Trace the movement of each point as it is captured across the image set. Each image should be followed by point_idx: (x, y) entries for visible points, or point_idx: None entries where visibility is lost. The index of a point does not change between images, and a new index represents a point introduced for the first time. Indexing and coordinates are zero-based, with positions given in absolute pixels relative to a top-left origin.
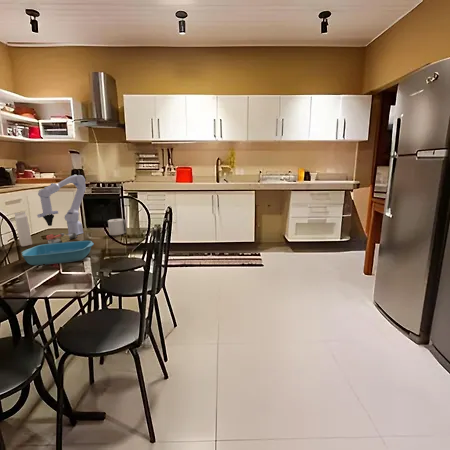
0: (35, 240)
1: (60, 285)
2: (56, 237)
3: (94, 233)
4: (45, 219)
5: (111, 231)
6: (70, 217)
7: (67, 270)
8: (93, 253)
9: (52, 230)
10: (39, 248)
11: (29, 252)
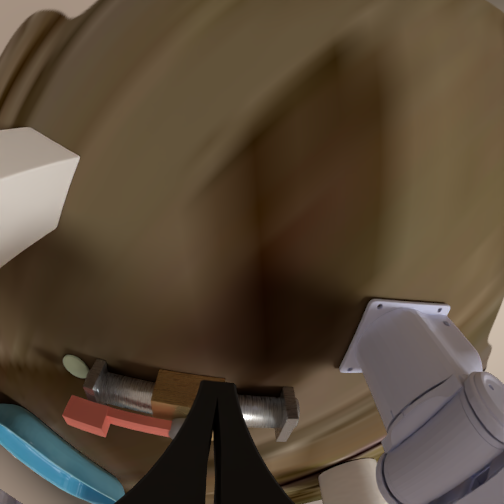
0: (163, 115)
1: None
2: (152, 402)
3: (378, 418)
4: (153, 479)
5: (322, 487)
6: (384, 497)
7: None
8: (123, 485)
9: (500, 41)
10: (13, 424)
11: None
